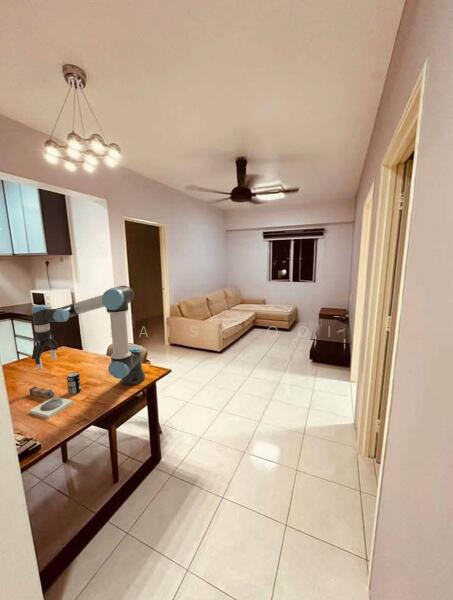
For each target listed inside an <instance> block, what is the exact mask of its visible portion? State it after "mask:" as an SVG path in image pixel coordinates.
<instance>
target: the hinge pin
mask: <svg viewBox="0 0 453 600" xmlns="http://www.w3.org/2000/svg"><path fill="white" fill-rule="evenodd" d="M50 390H51V391H50V398H49V399H51V398H52V397H54V396H55V391H54V390H53V389H50Z"/></svg>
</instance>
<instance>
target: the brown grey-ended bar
mask: <svg viewBox="0 0 453 600" xmlns="http://www.w3.org/2000/svg"><path fill="white" fill-rule="evenodd" d="M51 390H52V389H47V388H41V387H39V386H33V387H31V388H29V394H30V395H32V396H36V397H40V398H44V399H50V398H51V397H50V391H51Z"/></svg>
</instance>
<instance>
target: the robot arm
mask: <svg viewBox="0 0 453 600" xmlns="http://www.w3.org/2000/svg"><path fill="white" fill-rule="evenodd" d="M133 300H134V291H133V289H132V288H131V287H129V286H127V285H119V286H115V287H111V288H108V289H106V290H105V291H104V292H103V293H102V294H101V295H96V296H95V297H91V298H87V299H85V300H81V301H77V302H74V303H70V304H68V305H65V306H62V307H58V308H48V305H46V304H39V305H34V306H32V307H31V315H32V321H33V327H34V335H35V338H36V340H37V341H34V342H33V349H32V353H31V360H35V365H36V369H37V370H43V363H42V358H41V356H42V353H43V350H44V348H45V347H46V346H48V347H49V348H50V356H51V357H50V358H51V361H56V360H57V359H58V358H57V350H58V347H59V345H58V343H57V341H56V340H55V336H54V335H53V334H52V333H51V325H50V322H53V323H54V322H55V323H56V322H57V323H61V322H62V323H63V322H64V323H65V322H67V321H68V320H69V318H72V317H75V316H79V315H81V314H84V313H88V312H91V311H94V310H99V309H101V308H104V307H105V309H106V312H107V313H108V314H109V317H110V318H109V319H110V329H111V331H110V332H111V341H112V354H111V355H110V364H109V365H108V367H107V369H108V370H107V371H108V373H109V375H110V376H112V377H113V378H114V379H120V381H121V384H122V385H124V386H135V385H139V384H141V383H142V382H144V381H145V380H146V374H145V372H144V370H143V365H142V350H141V347H140V346H136V345H131V346H129V337H128V324H127V323H128V322H127V312H128V311H129V304H130V303H131V302H132V301H133Z"/></svg>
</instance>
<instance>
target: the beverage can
mask: <svg viewBox="0 0 453 600" xmlns="http://www.w3.org/2000/svg"><path fill="white" fill-rule="evenodd" d="M66 381H67V382H66V383H67V389H68V394H70V395H71V396H72V395H77V394H79V393H80V392H81V390H82V386H81V377H80V374H79V372H78V371H73V372H70V373H68V374H67V376H66Z"/></svg>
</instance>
